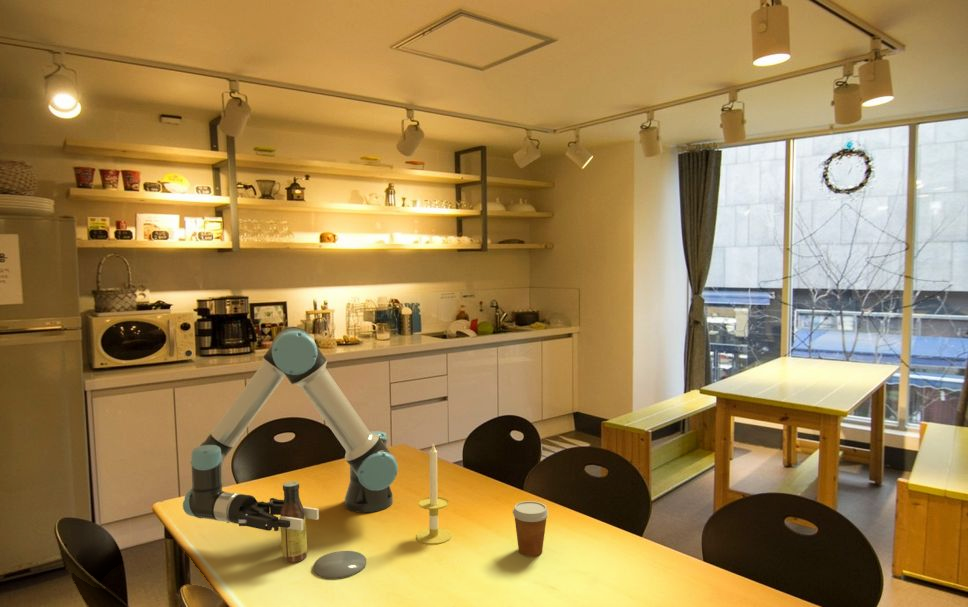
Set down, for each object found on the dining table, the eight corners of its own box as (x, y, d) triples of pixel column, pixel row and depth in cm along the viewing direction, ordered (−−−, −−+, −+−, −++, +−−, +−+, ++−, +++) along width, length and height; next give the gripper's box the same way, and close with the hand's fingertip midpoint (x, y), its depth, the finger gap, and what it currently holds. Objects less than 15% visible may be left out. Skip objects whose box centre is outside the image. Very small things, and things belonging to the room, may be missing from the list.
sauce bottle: (311, 554, 160) (310, 480, 159) (297, 565, 154) (295, 489, 153) (291, 551, 162) (289, 478, 161) (275, 561, 156) (274, 486, 155)
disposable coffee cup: (524, 562, 155) (524, 517, 154) (506, 547, 164) (506, 504, 163) (555, 554, 159) (555, 510, 159) (535, 540, 168) (536, 498, 167)
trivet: (353, 549, 163) (353, 546, 163) (374, 568, 152) (374, 565, 152) (306, 563, 155) (305, 560, 155) (325, 584, 145) (325, 581, 145)
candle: (458, 533, 172) (457, 440, 171) (439, 547, 164) (438, 449, 162) (428, 526, 177) (428, 435, 176) (409, 539, 168) (408, 444, 167)
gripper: (260, 508, 172) (331, 519, 165) (210, 536, 154) (287, 550, 147) (260, 482, 172) (330, 492, 164) (209, 508, 154) (286, 519, 146)
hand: (310, 519), depth 156 cm, fingers closed on sauce bottle, 6 cm apart
